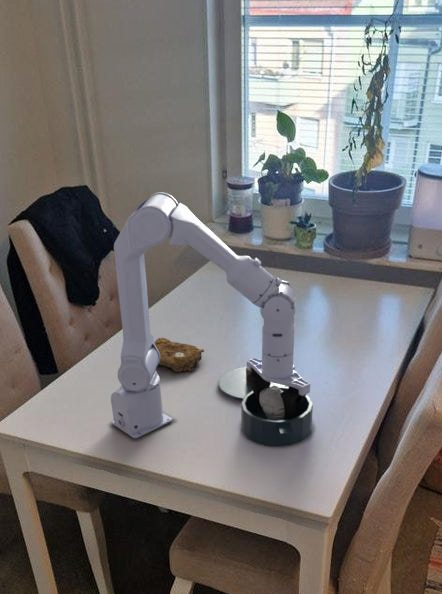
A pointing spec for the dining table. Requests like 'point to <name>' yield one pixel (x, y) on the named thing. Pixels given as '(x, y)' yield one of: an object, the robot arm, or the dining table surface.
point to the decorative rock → (178, 355)
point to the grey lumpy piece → (272, 403)
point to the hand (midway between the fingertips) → (276, 413)
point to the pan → (275, 423)
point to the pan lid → (237, 383)
